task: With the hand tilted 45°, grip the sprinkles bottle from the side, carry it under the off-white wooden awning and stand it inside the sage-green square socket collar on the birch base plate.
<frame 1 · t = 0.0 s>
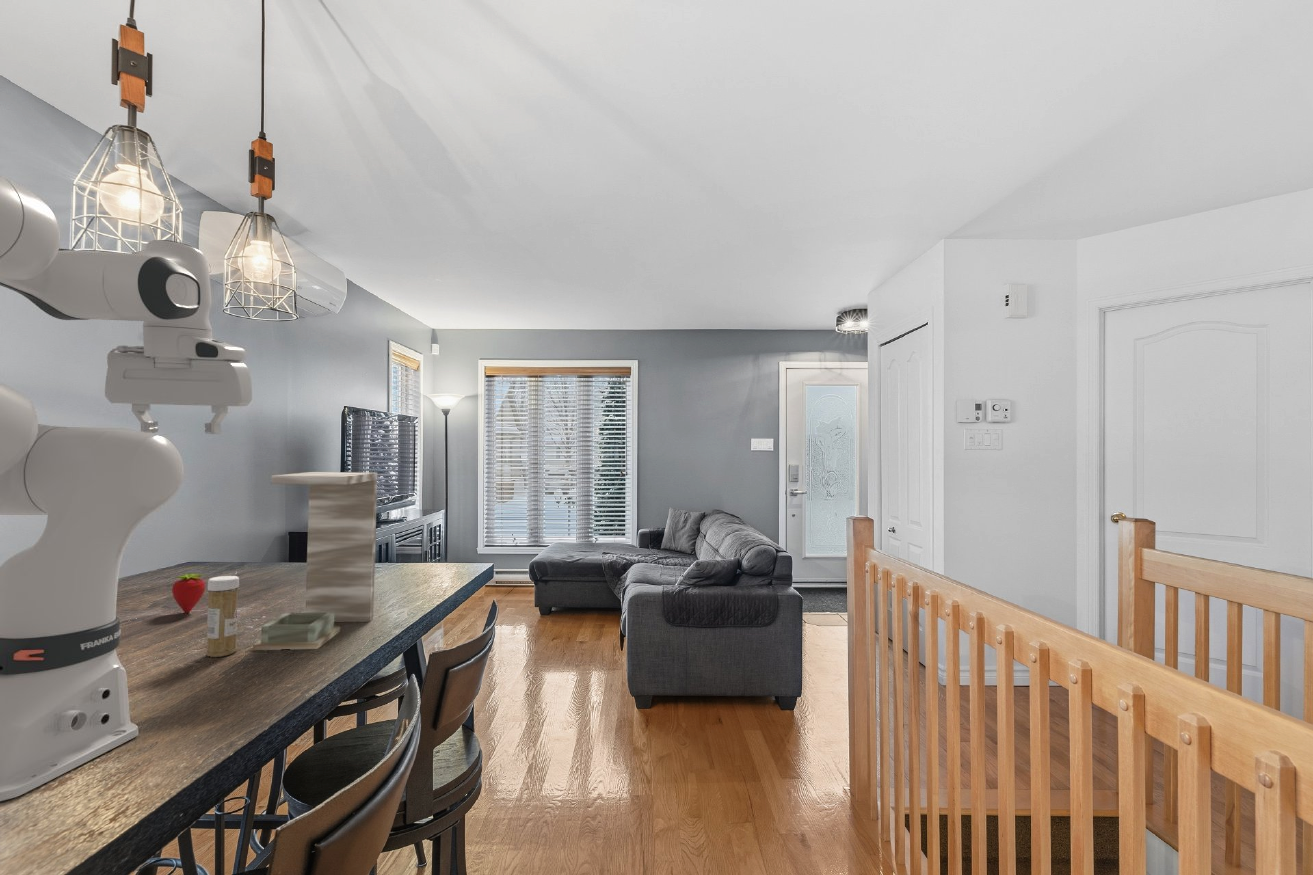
hand: (181, 433, 101), 39 cm above the table, tool pointing down, fingers open, 8 cm apart
strawberry: (188, 613, 136), on the table
awning socket: (298, 640, 118), on the table
sprinkles bottle: (221, 654, 110), on the table
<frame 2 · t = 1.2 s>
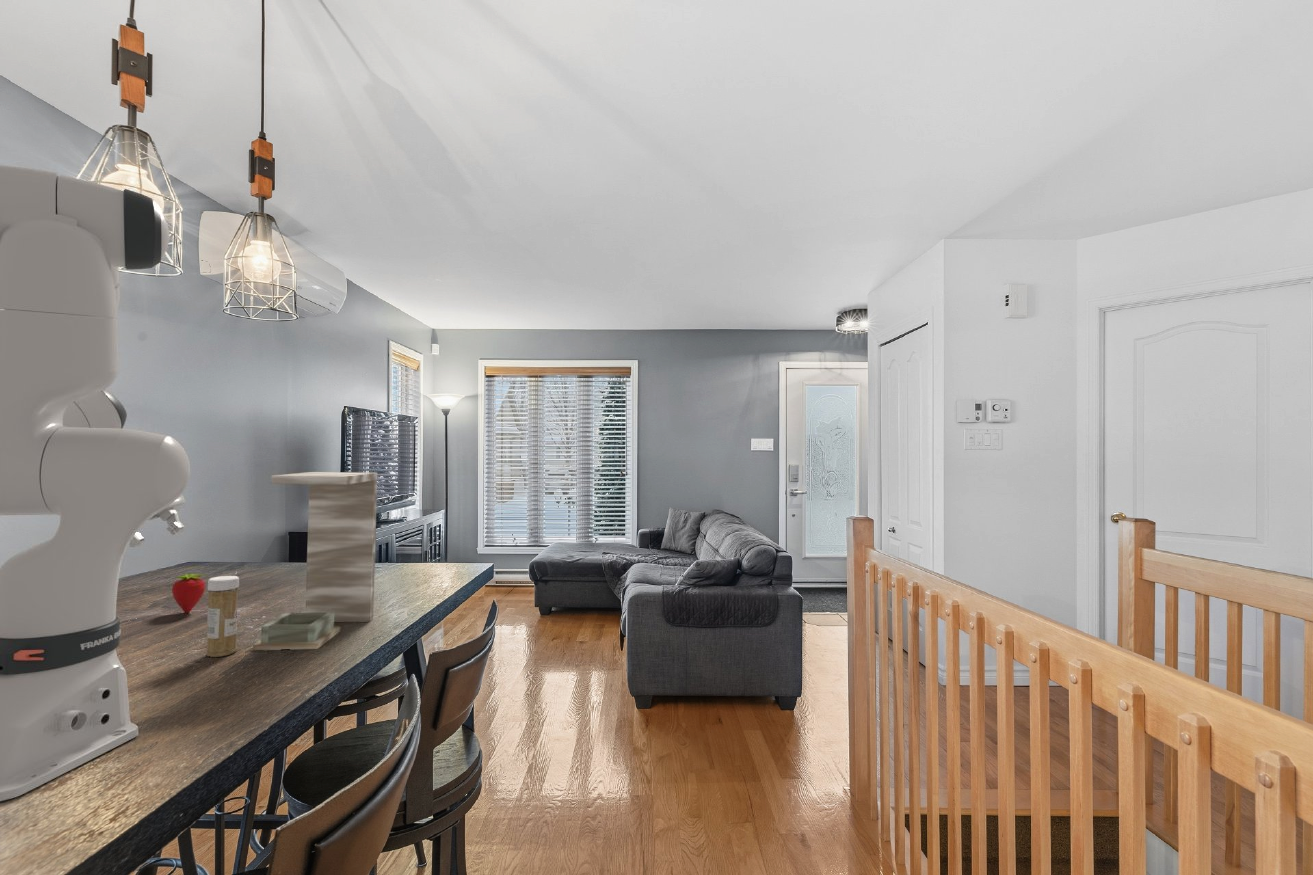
hand: (160, 537, 110), 20 cm above the table, tool tilted 45°, fingers open, 8 cm apart
nothing on the table moved.
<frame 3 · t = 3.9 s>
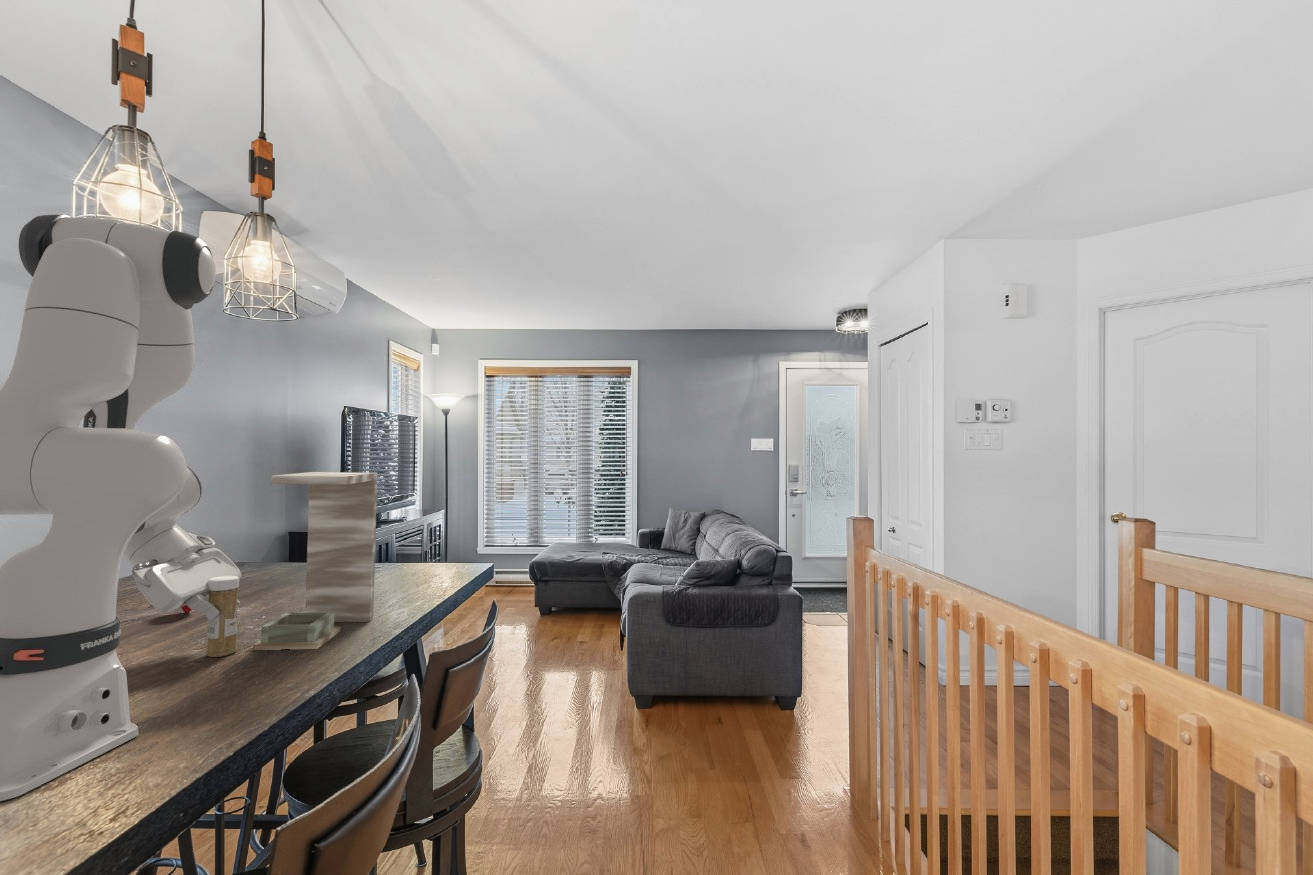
hand: (226, 611, 110), 7 cm above the table, tool tilted 45°, fingers closed on sprinkles bottle, 4 cm apart
sprinkles bottle: (221, 654, 110), on the table, touching gripper
everything else where it was.
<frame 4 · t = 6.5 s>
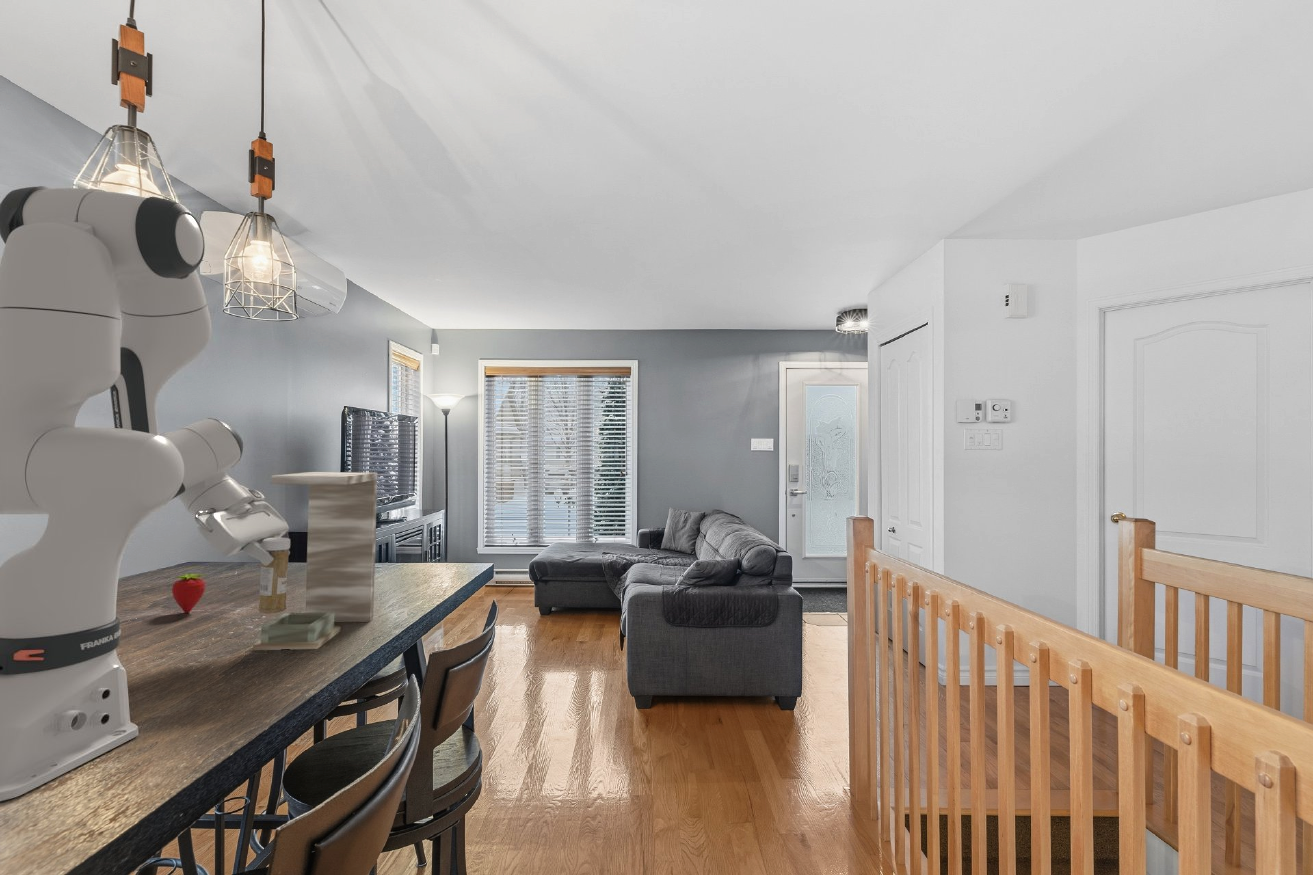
hand: (278, 559, 116), 16 cm above the table, tool tilted 45°, fingers closed on sprinkles bottle, 4 cm apart
sprinkles bottle: (271, 611, 116), point 6 cm above the table, touching gripper
everything else where it was.
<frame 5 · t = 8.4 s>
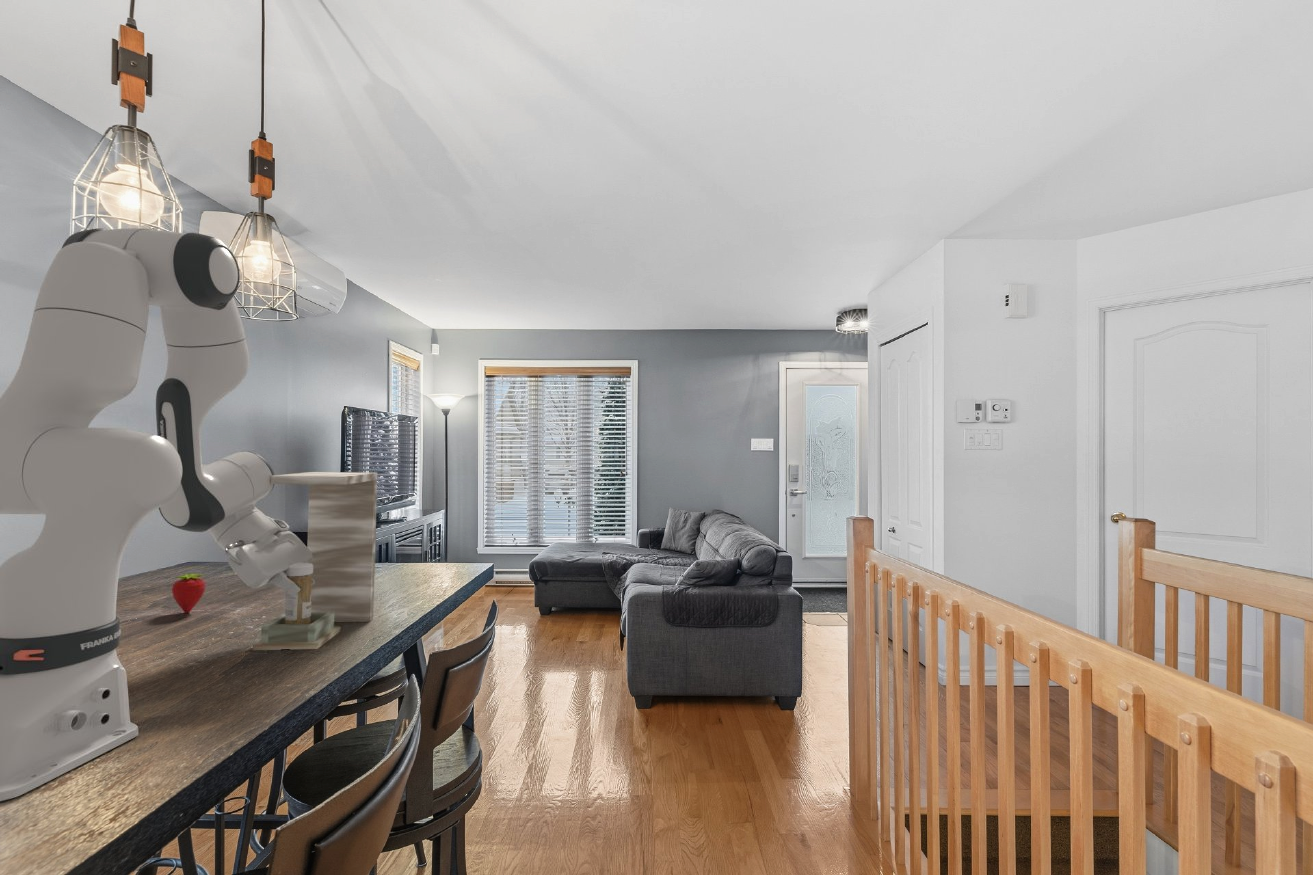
hand: (304, 589, 119), 10 cm above the table, tool tilted 45°, fingers closed on sprinkles bottle, 4 cm apart
sprinkles bottle: (297, 635, 118), point 1 cm above the table, touching awning socket, gripper
everything else where it was.
when the fingers open (10 cm above the table, at t = 8.6 s): sprinkles bottle stays where it is, resting on awning socket.
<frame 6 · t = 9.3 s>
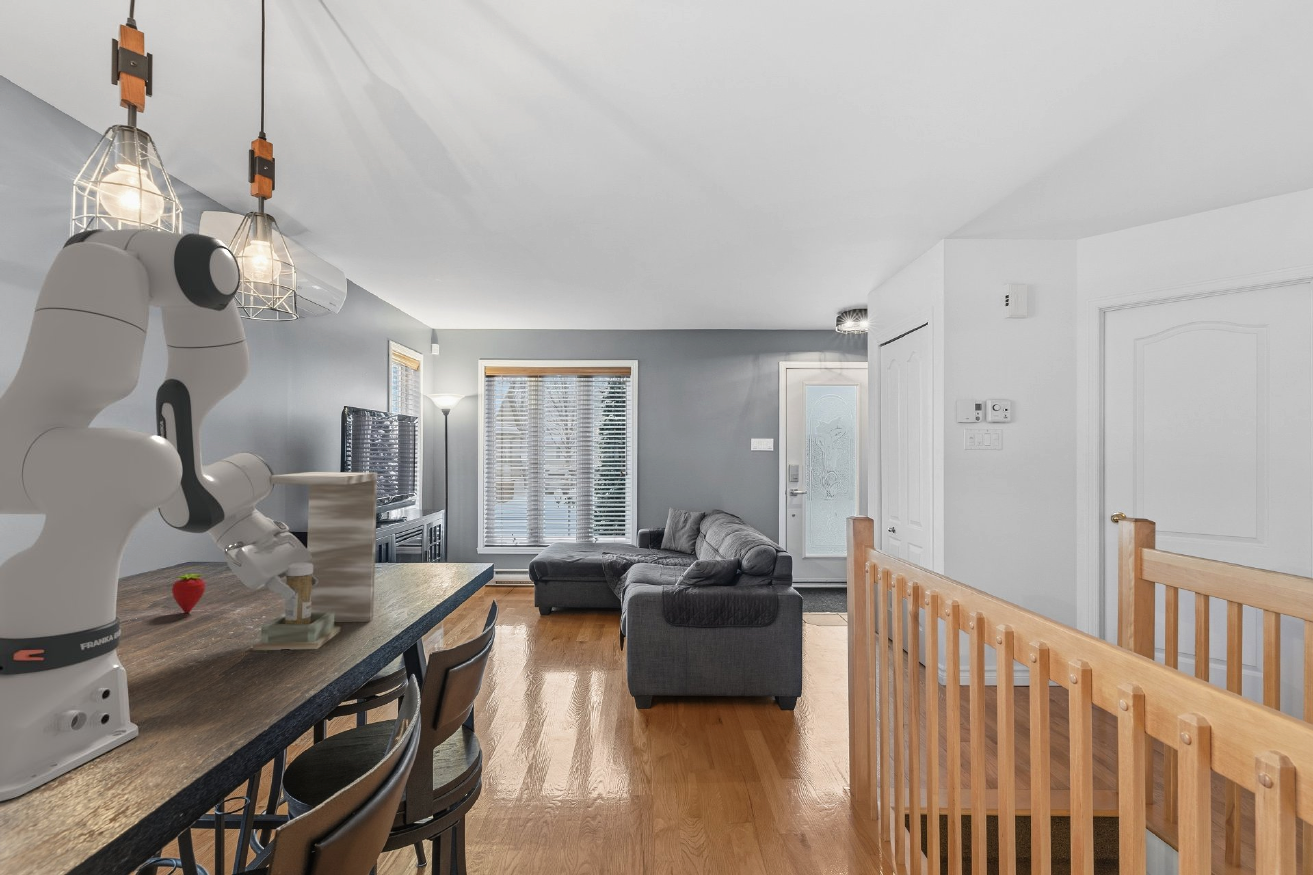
hand: (304, 590, 118), 9 cm above the table, tool tilted 45°, fingers open, 8 cm apart
sprinkles bottle: (297, 635, 118), point 1 cm above the table, touching awning socket
everything else where it was.
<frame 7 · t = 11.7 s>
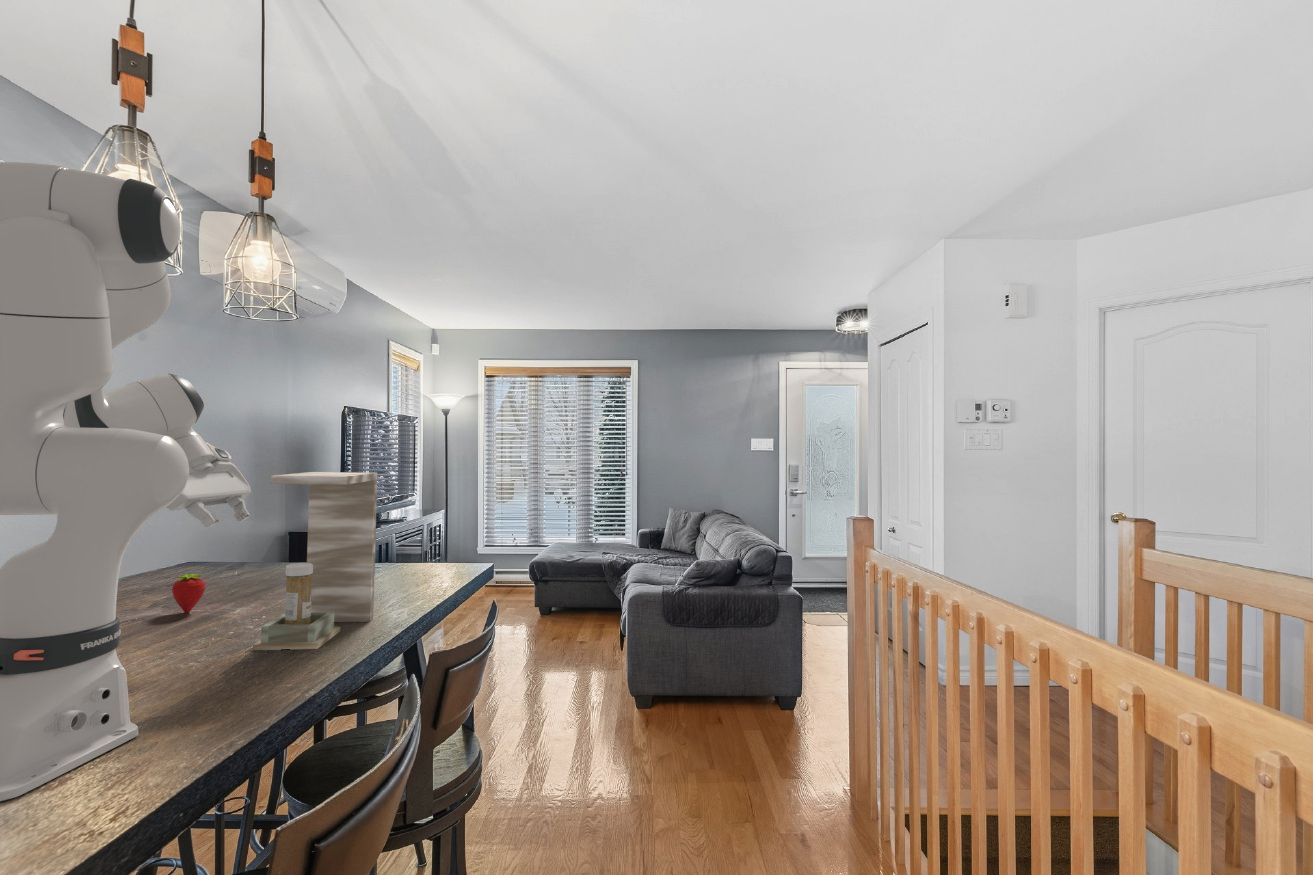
hand: (229, 521, 115), 23 cm above the table, tool tilted 35°, fingers open, 8 cm apart
nothing on the table moved.
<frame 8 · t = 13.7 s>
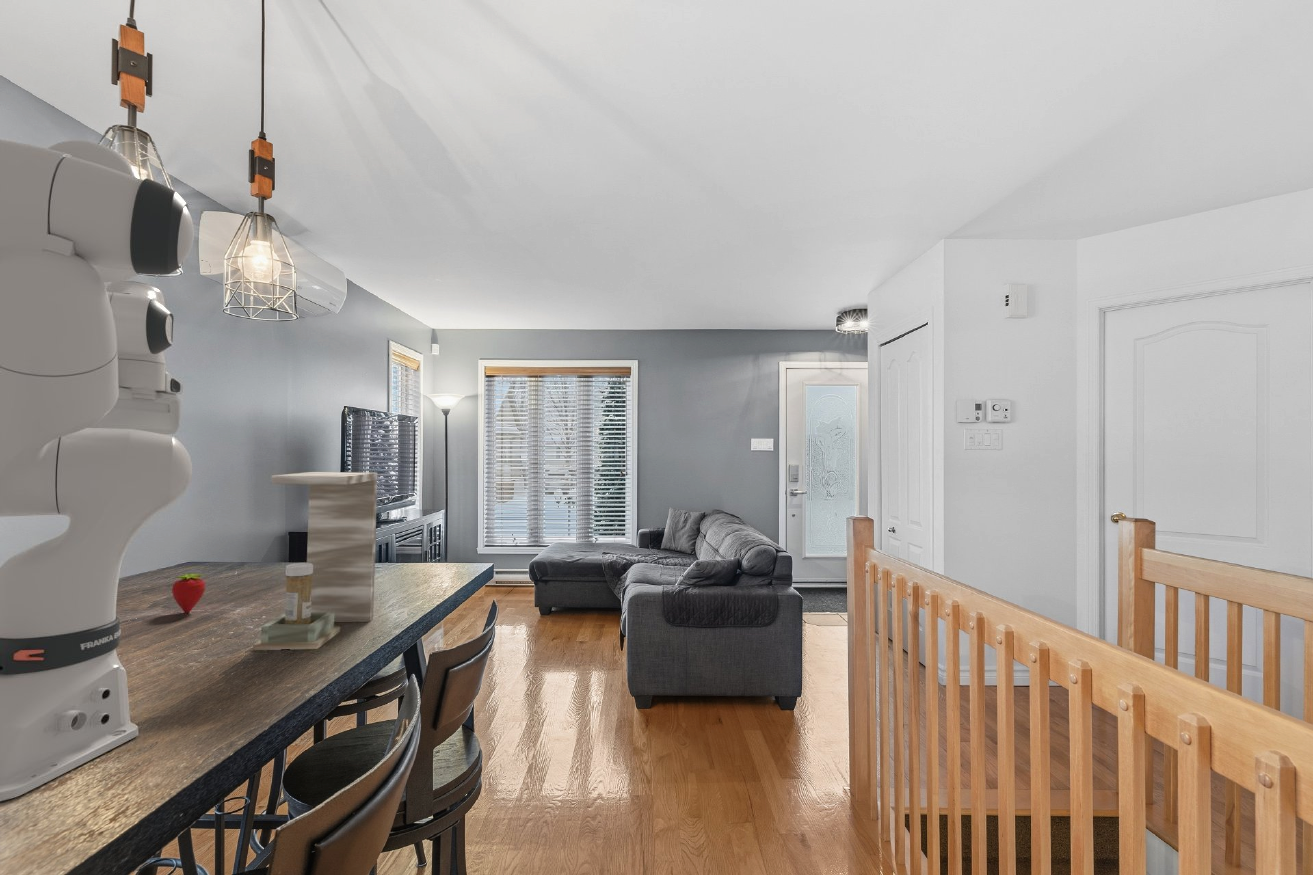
hand: (129, 460, 106), 34 cm above the table, tool pointing down, fingers open, 8 cm apart
nothing on the table moved.
at the end: sprinkles bottle 0.4 cm off-centre on the awning socket, point 0.8 cm above the awning socket's base; sprinkles bottle tilted 0°; the gripper is holding nothing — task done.
